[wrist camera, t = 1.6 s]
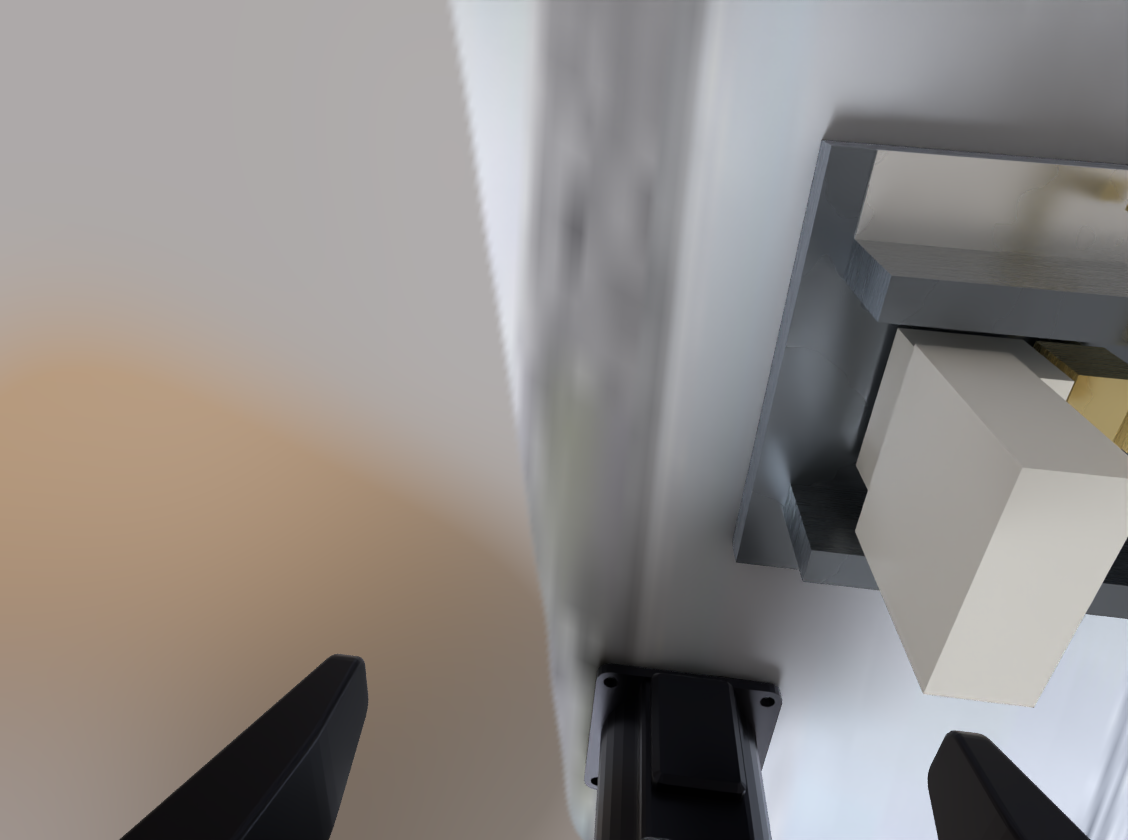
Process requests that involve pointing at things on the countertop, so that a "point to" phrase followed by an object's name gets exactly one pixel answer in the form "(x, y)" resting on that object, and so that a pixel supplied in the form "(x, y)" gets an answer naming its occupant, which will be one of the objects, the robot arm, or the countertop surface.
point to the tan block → (1094, 385)
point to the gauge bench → (919, 319)
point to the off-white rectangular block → (986, 512)
